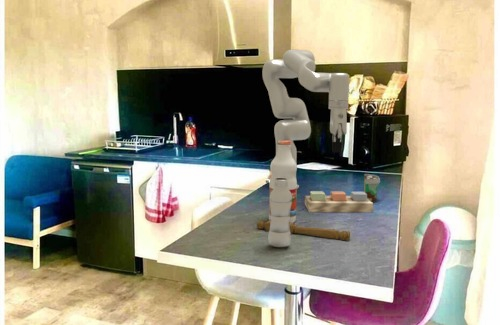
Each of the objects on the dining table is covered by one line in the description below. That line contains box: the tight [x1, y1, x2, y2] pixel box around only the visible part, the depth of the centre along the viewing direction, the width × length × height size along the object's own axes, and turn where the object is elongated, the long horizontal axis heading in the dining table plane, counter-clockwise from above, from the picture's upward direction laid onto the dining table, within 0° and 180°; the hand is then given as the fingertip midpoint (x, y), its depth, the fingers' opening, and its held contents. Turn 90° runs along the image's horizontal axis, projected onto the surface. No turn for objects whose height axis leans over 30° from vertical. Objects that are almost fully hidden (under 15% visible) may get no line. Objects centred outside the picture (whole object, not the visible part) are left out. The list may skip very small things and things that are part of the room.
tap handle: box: [256, 220, 351, 241], centre depth 144 cm, size 3×3×30 cm
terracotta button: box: [330, 190, 347, 201], centre depth 176 cm, size 5×5×4 cm
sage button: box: [309, 190, 326, 201], centre depth 175 cm, size 5×5×4 cm
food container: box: [363, 173, 381, 203], centre depth 189 cm, size 12×6×10 cm, turn 168°
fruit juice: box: [268, 140, 298, 224], centre depth 156 cm, size 9×9×28 cm
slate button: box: [350, 191, 367, 201], centre depth 176 cm, size 5×5×4 cm
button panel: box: [304, 195, 374, 214], centre depth 176 cm, size 24×12×4 cm, turn 91°
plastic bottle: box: [267, 178, 292, 248], centre depth 131 cm, size 6×7×20 cm
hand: (336, 151), depth 180 cm, fingers closed
